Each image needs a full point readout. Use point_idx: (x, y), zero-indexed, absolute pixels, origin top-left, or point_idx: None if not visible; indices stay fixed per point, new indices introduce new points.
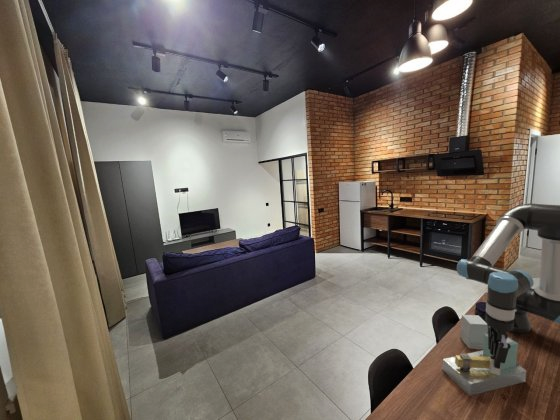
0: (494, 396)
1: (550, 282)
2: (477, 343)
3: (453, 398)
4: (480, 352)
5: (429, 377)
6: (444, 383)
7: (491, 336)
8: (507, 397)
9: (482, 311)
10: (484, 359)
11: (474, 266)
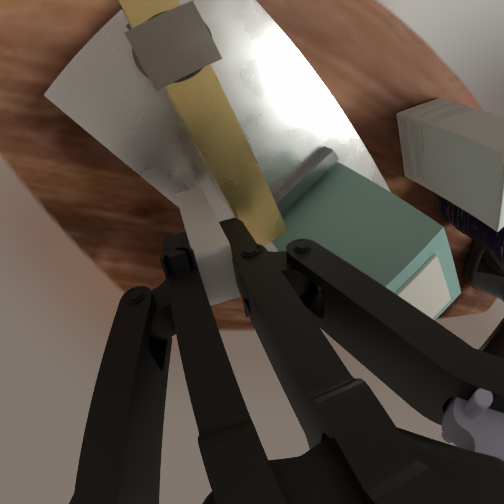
0: (126, 180)
1: None
2: (419, 152)
3: (16, 40)
4: (358, 154)
5: None
6: None
7: (325, 429)
8: (153, 222)
9: None
10: (227, 179)
11: None
